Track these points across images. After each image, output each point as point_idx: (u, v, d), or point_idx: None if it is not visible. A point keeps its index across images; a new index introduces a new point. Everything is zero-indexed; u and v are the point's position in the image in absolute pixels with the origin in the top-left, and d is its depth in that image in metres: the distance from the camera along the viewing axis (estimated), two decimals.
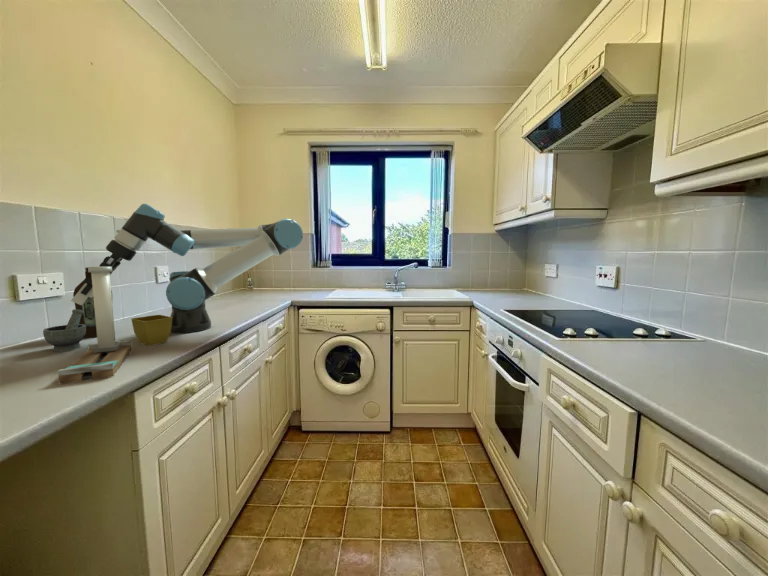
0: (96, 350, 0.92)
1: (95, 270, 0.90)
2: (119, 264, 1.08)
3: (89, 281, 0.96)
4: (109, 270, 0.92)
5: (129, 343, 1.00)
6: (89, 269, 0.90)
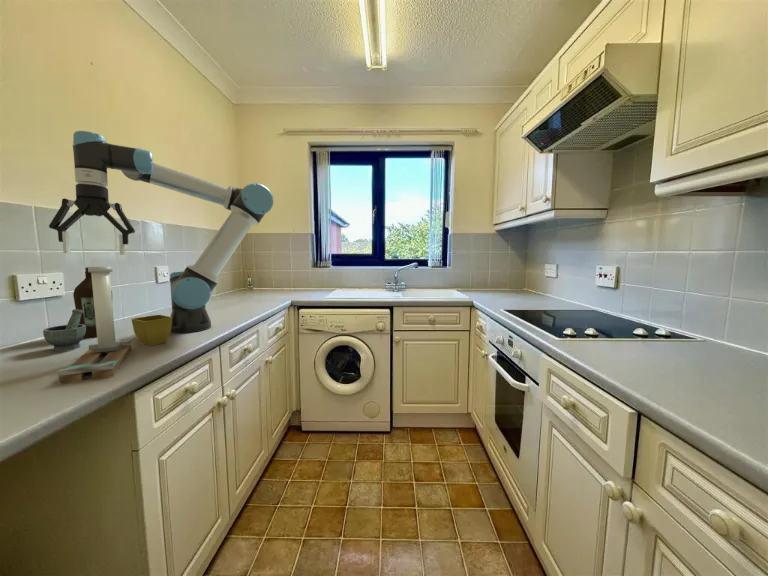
0: (96, 350, 0.92)
1: (95, 270, 0.90)
2: None
3: (133, 230, 1.05)
4: (109, 270, 0.92)
5: (129, 343, 1.00)
6: (89, 269, 0.90)
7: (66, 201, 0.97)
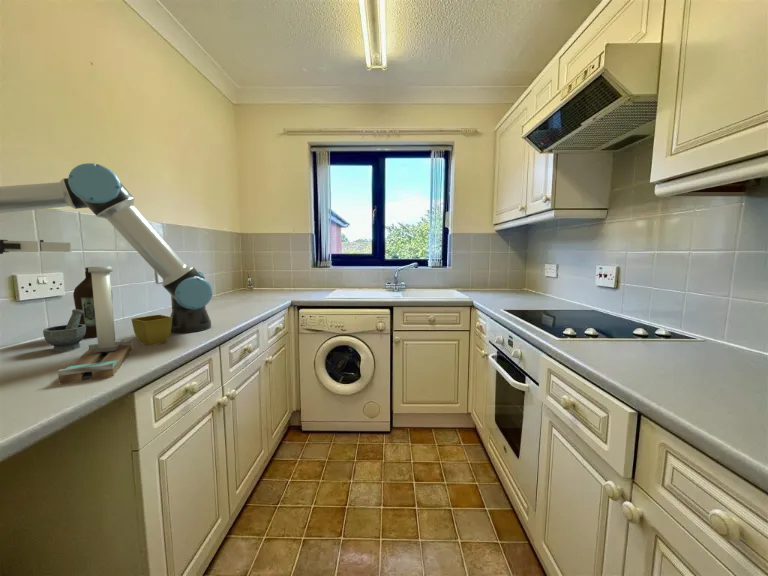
0: (96, 350, 0.92)
1: (95, 270, 0.90)
2: None
3: None
4: (109, 270, 0.92)
5: (129, 343, 1.00)
6: (89, 269, 0.90)
7: None
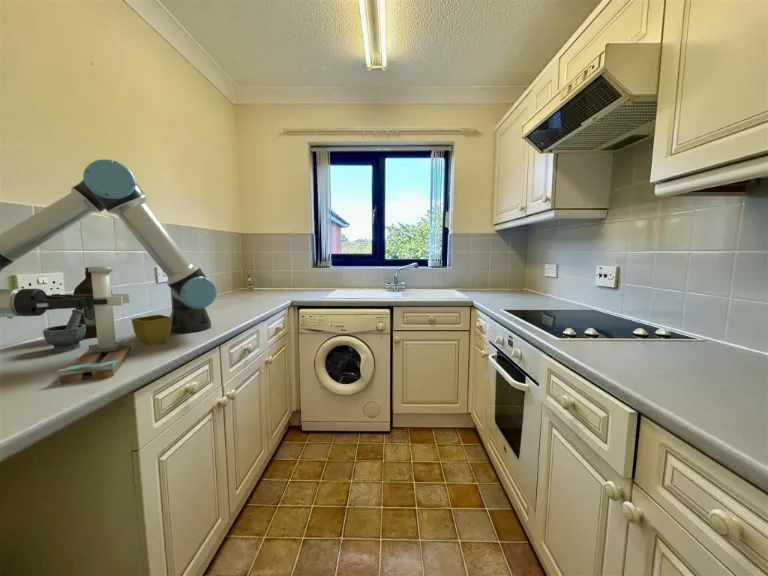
0: (96, 350, 0.92)
1: (95, 270, 0.90)
2: (53, 294, 0.90)
3: (83, 305, 0.87)
4: (109, 270, 0.92)
5: (129, 343, 1.00)
6: (89, 269, 0.90)
7: None
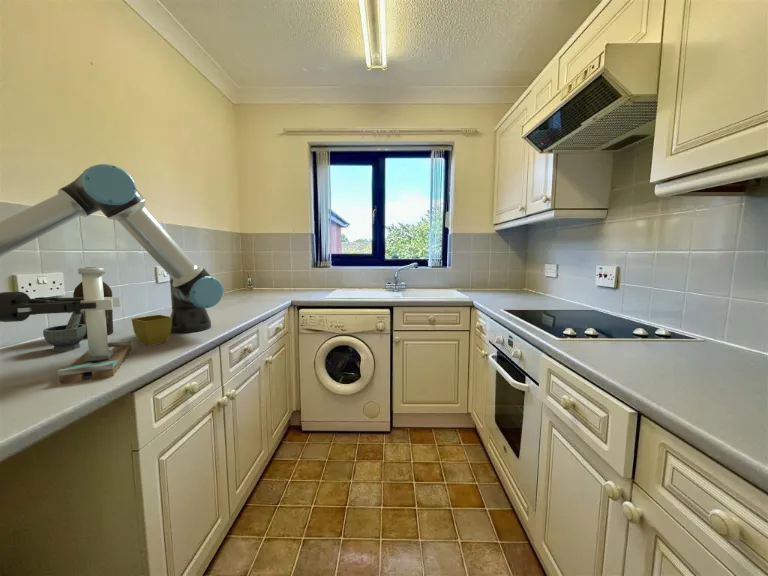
0: (87, 359, 0.85)
1: (86, 272, 0.83)
2: None
3: (69, 309, 0.80)
4: (101, 272, 0.85)
5: (129, 343, 1.00)
6: (79, 271, 0.83)
7: None
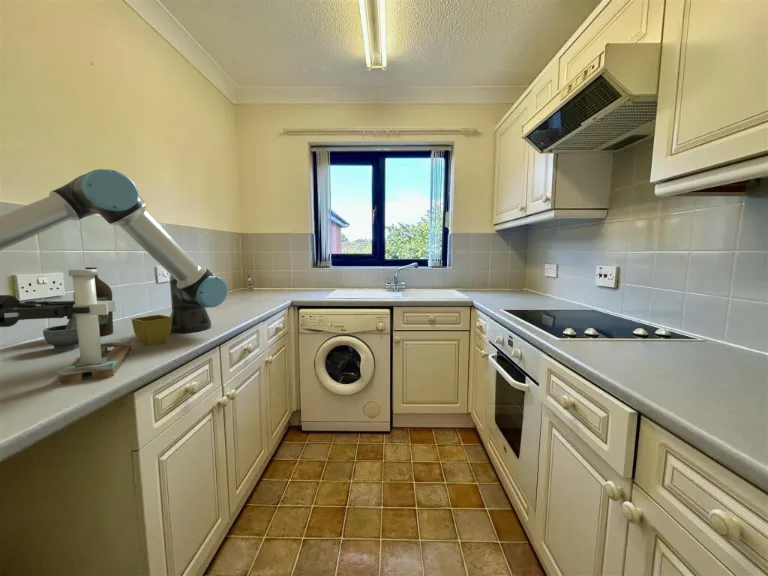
0: None
1: (77, 274, 0.77)
2: (26, 301, 0.77)
3: (60, 314, 0.74)
4: (93, 274, 0.79)
5: (129, 343, 1.00)
6: (69, 273, 0.77)
7: None
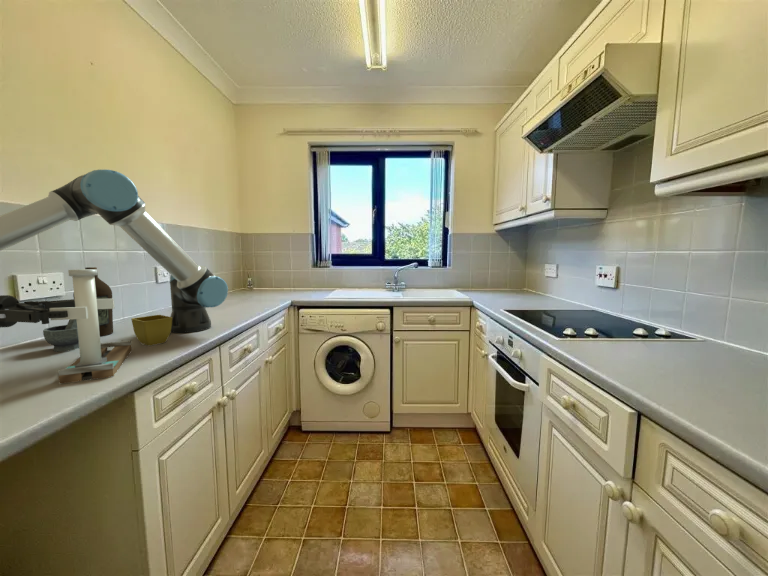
0: None
1: (77, 274, 0.77)
2: (27, 301, 0.77)
3: (33, 319, 0.69)
4: (93, 274, 0.79)
5: (129, 343, 1.00)
6: (69, 273, 0.77)
7: None
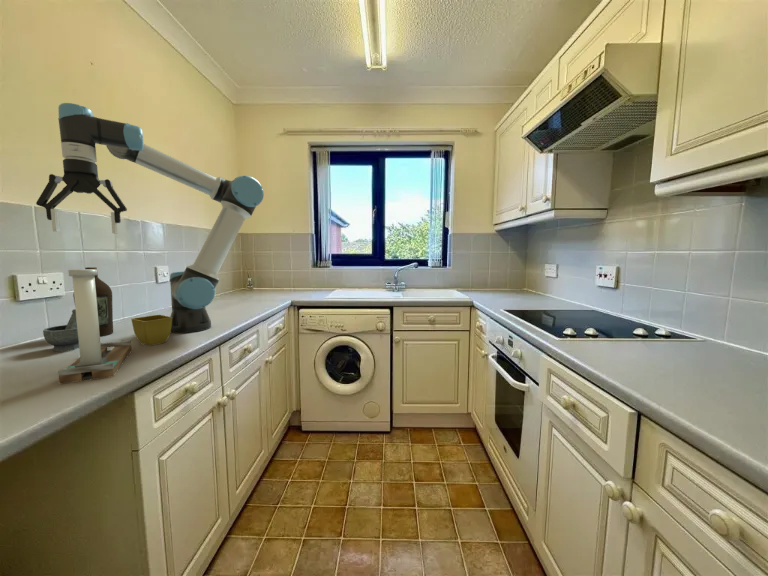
0: None
1: (77, 274, 0.77)
2: None
3: (125, 208, 1.02)
4: (93, 274, 0.79)
5: (129, 343, 1.00)
6: (69, 273, 0.77)
7: (53, 177, 0.93)
